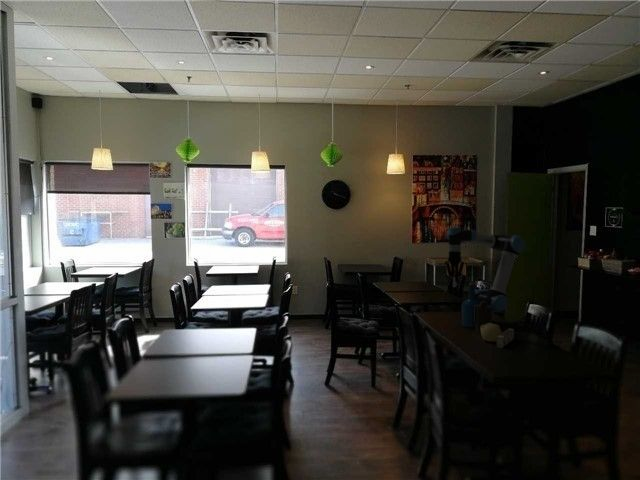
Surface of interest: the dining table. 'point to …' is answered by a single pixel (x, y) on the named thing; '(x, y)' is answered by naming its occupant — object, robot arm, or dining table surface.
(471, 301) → the wine bottle
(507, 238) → the robot arm
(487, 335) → the sculpture
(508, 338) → the board
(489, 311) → the canister
